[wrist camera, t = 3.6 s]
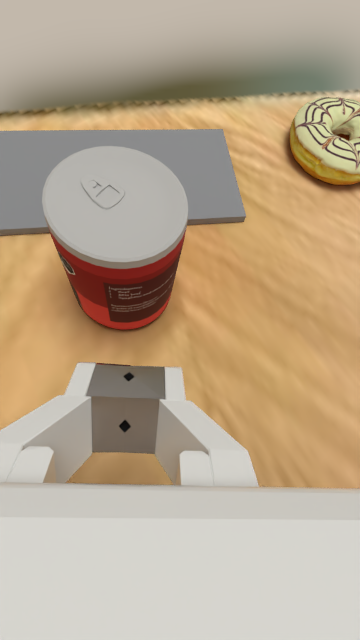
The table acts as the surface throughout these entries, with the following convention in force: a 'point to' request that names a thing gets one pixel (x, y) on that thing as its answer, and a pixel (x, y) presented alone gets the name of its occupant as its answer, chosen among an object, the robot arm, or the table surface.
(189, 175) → the mat
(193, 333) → the table surface
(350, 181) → the decorated donut
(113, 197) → the canned food
